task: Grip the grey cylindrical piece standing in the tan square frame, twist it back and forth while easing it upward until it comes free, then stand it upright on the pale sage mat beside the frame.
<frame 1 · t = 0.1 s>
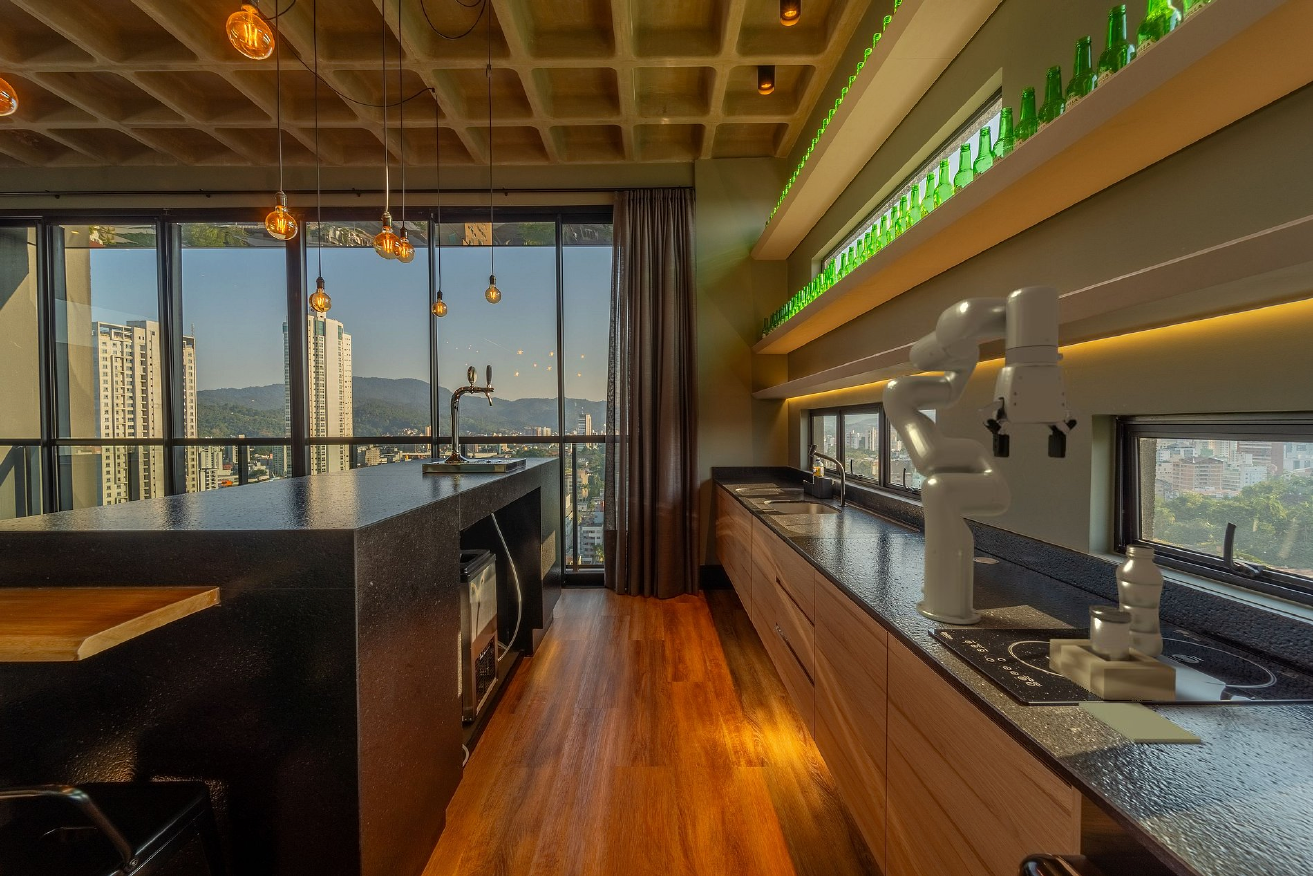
hand: (1028, 457, 92), 37 cm above the worktop, tool pointing down, fingers open, 9 cm apart
grey cylindrical piece: (1109, 647, 85), in the tan square frame
mat: (1136, 723, 74), on the worktop
plastic bottle: (1137, 655, 96), on the worktop
tan square frame: (1108, 683, 85), on the worktop
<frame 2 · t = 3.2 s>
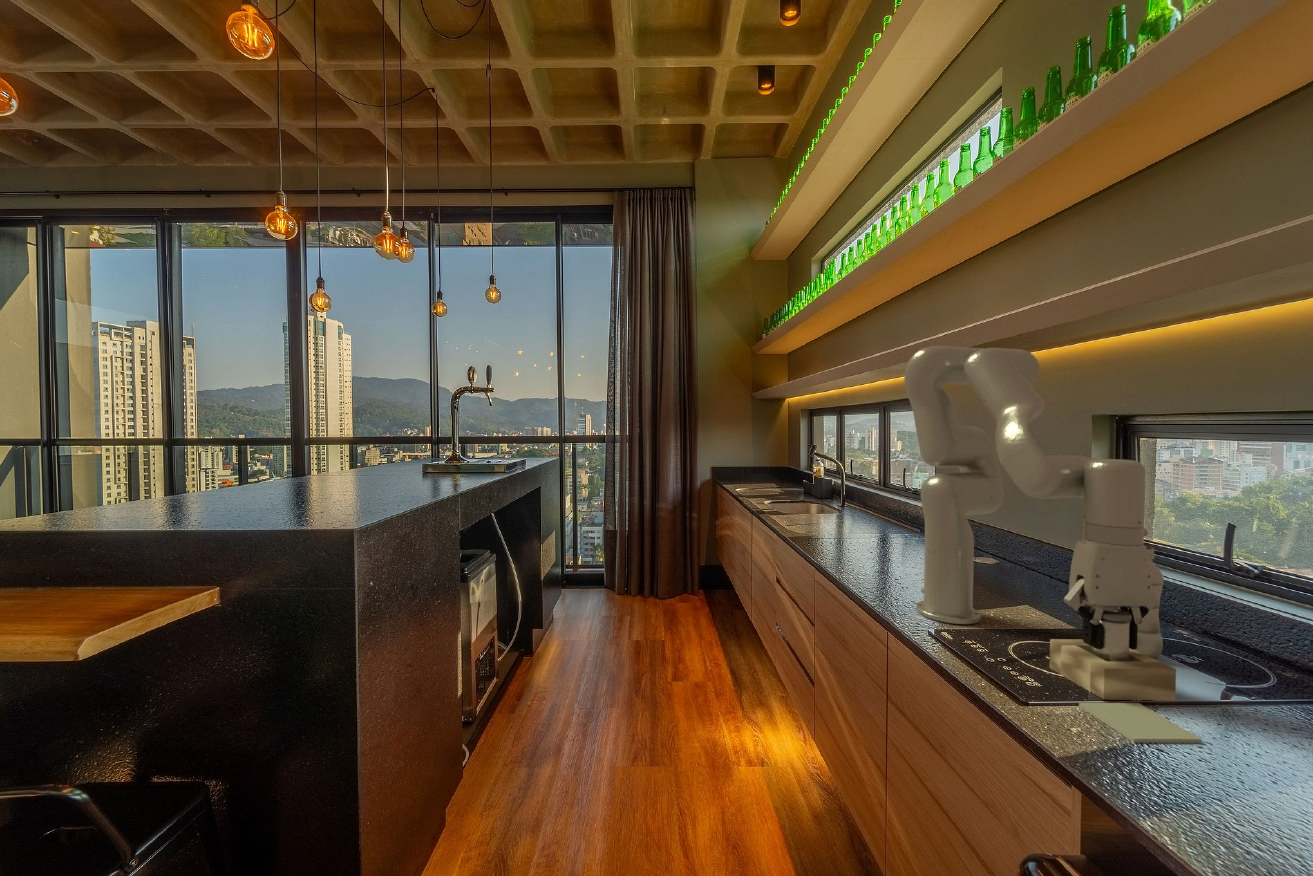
hand: (1109, 644, 85), 6 cm above the worktop, tool pointing down, fingers closed on grey cylindrical piece, 4 cm apart
grey cylindrical piece: (1109, 647, 85), in the tan square frame, touching gripper
everything else where it was.
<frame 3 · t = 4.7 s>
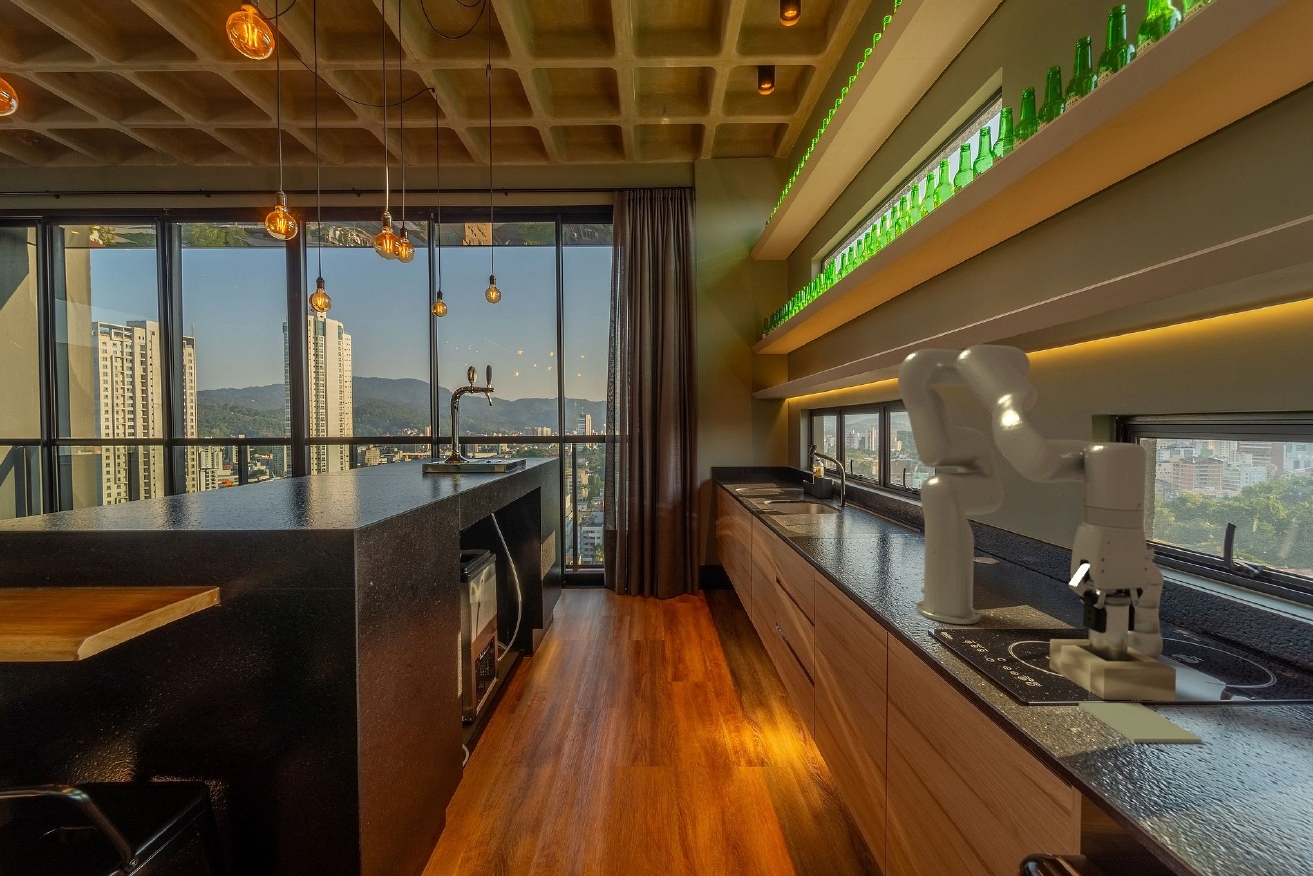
hand: (1108, 627, 85), 9 cm above the worktop, tool pointing down, fingers closed on grey cylindrical piece, 4 cm apart
grey cylindrical piece: (1108, 630, 85), point 9 cm above the worktop, touching gripper
everything else where it was.
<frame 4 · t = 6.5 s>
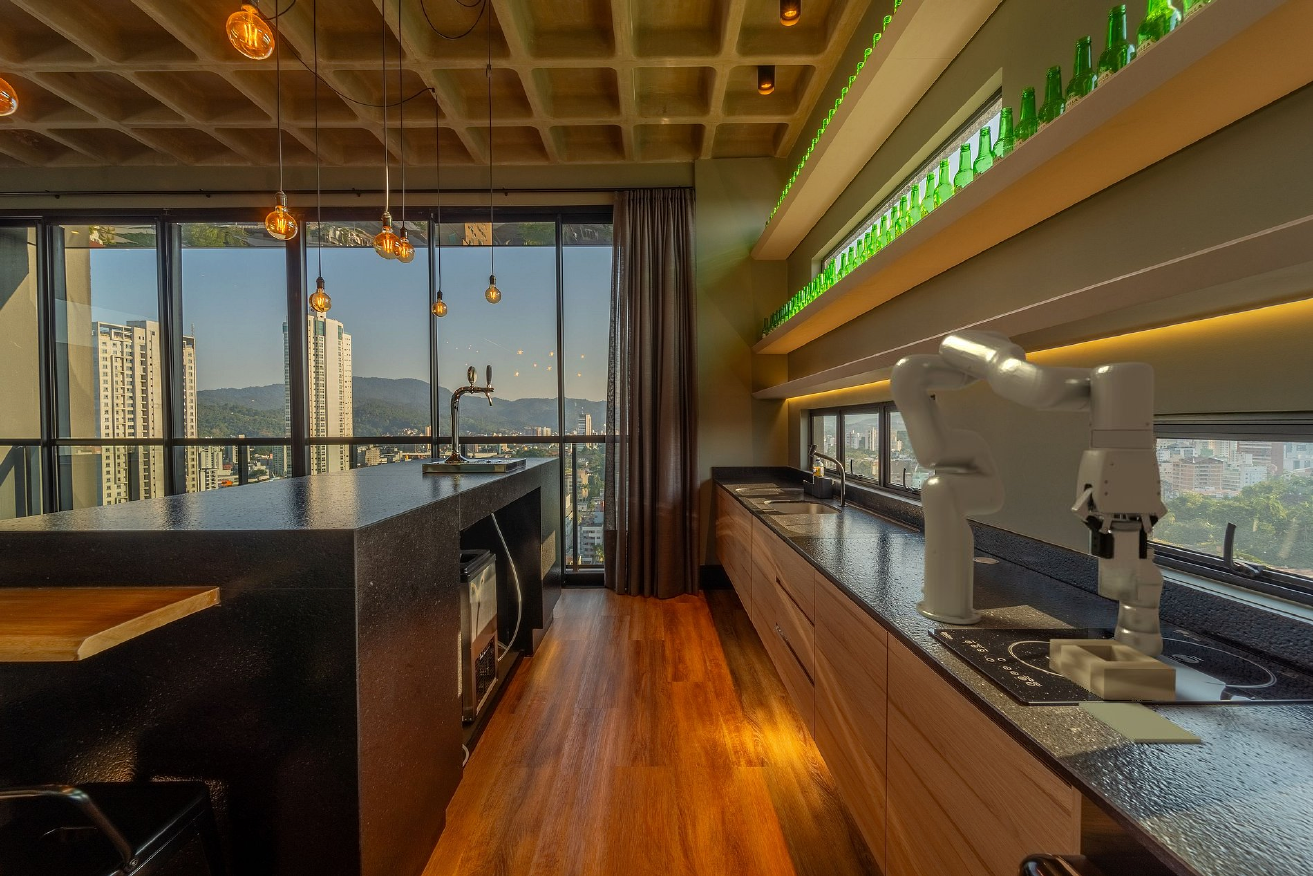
hand: (1118, 555, 82), 22 cm above the worktop, tool pointing down, fingers closed on grey cylindrical piece, 4 cm apart
grey cylindrical piece: (1118, 558, 82), point 21 cm above the worktop, touching gripper
everything else where it was.
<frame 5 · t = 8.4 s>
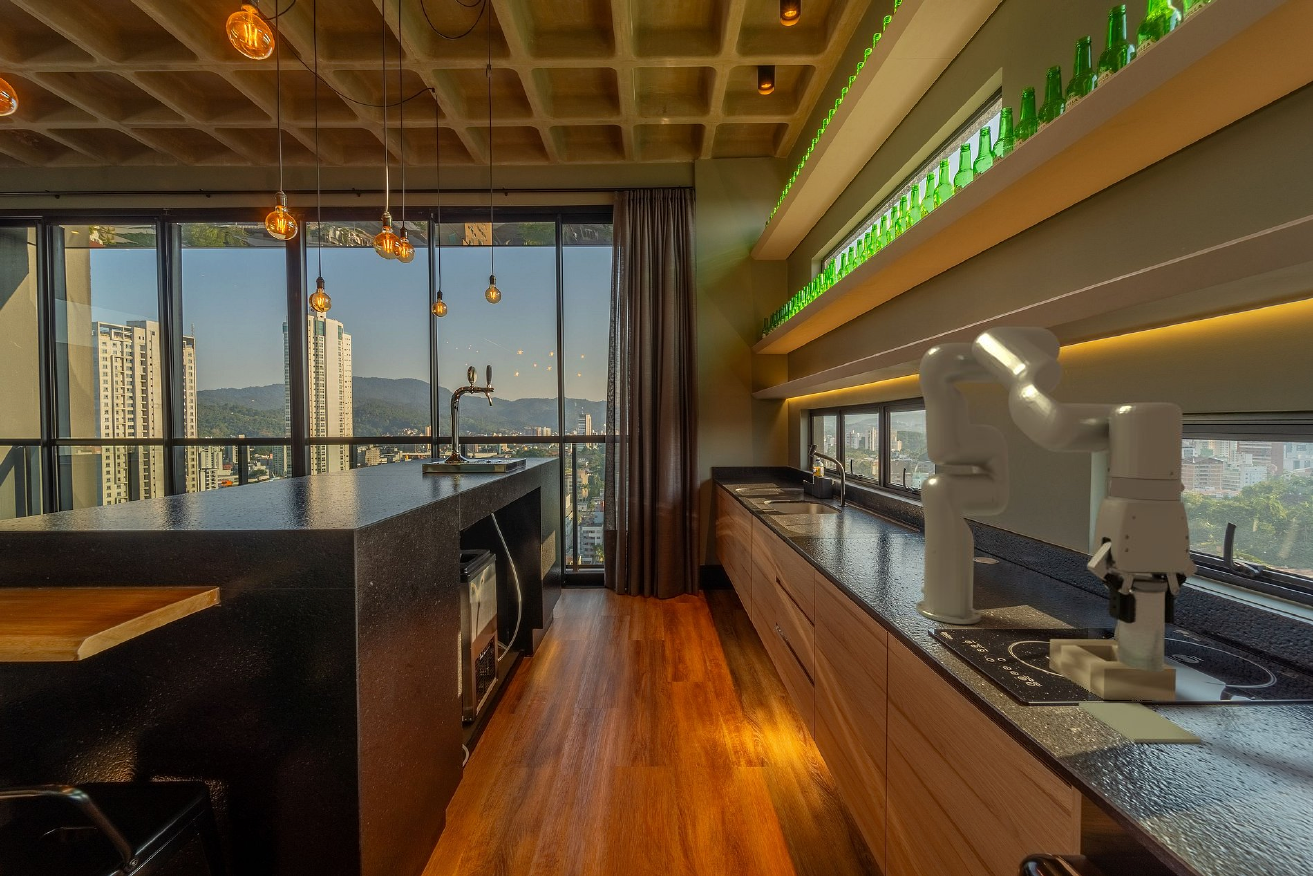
hand: (1140, 618, 73), 15 cm above the worktop, tool pointing down, fingers closed on grey cylindrical piece, 4 cm apart
grey cylindrical piece: (1140, 621, 73), point 15 cm above the worktop, touching gripper
everything else where it was.
when the fingers open (8 cm above the worktop, at t = 10.0 s): grey cylindrical piece drops 1 cm, resting on mat.
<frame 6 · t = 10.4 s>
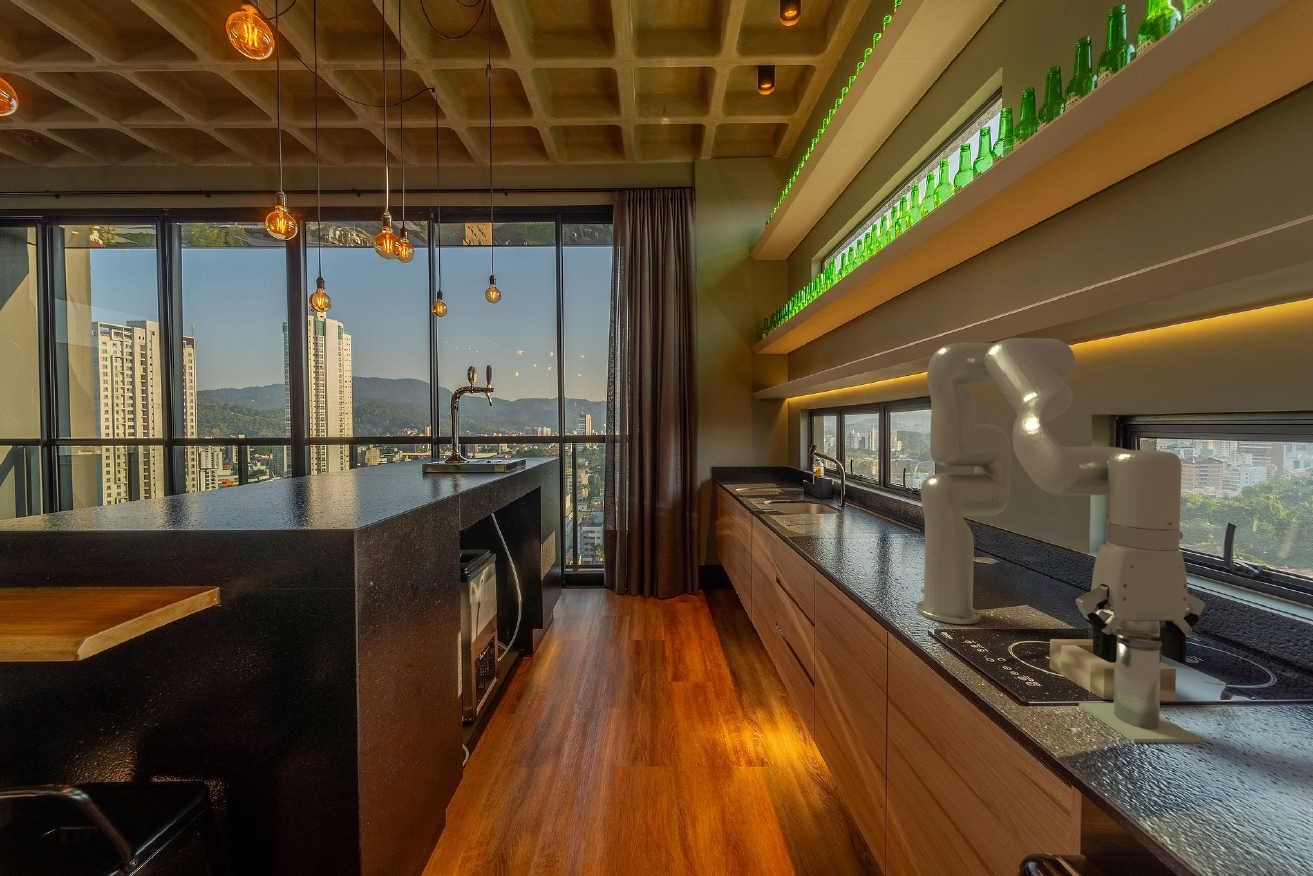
hand: (1138, 658, 74), 9 cm above the worktop, tool pointing down, fingers open, 9 cm apart
grey cylindrical piece: (1136, 677, 74), on the mat
everything else where it was.
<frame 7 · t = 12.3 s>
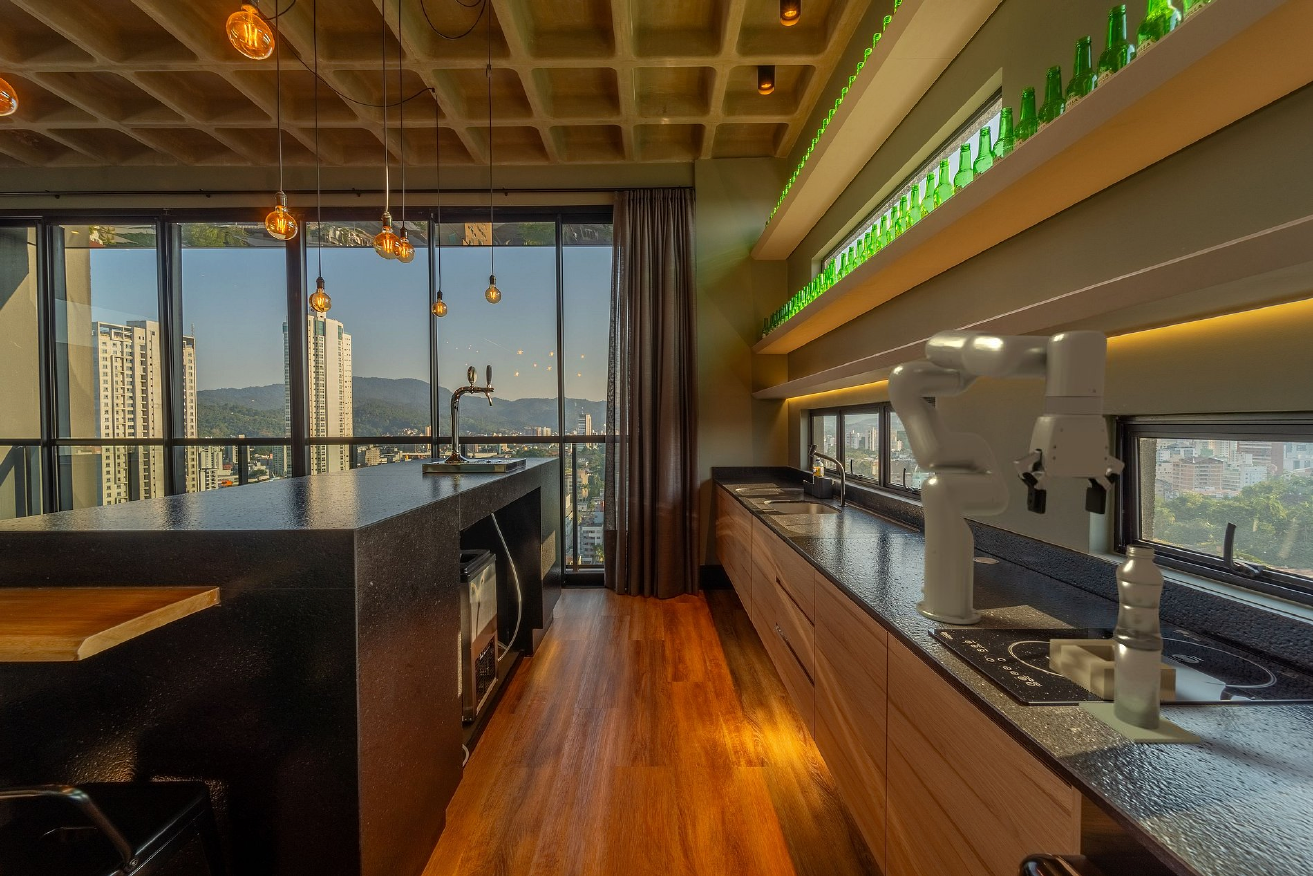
hand: (1065, 512, 86), 28 cm above the worktop, tool pointing down, fingers open, 9 cm apart
nothing on the worktop moved.
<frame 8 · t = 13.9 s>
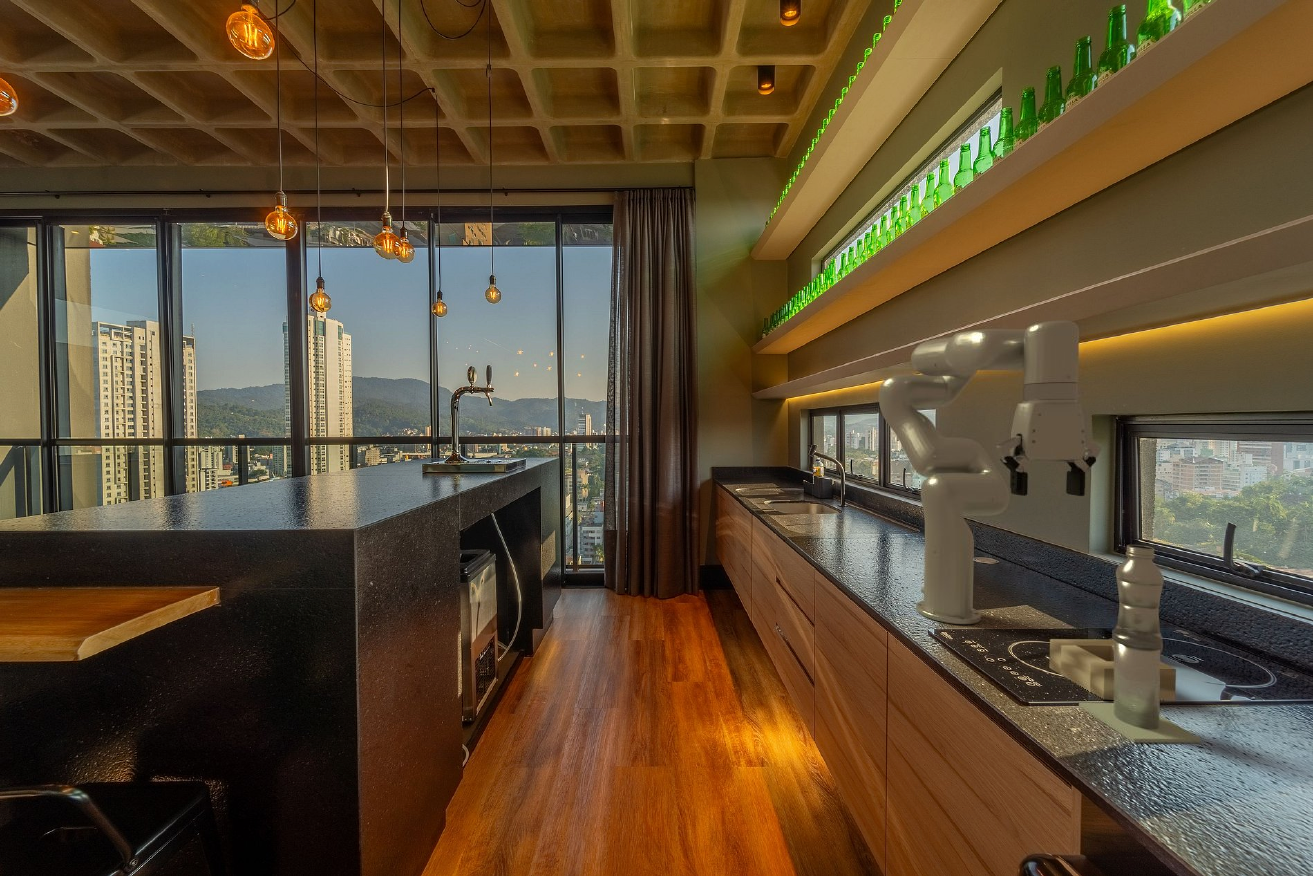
hand: (1047, 494, 90), 30 cm above the worktop, tool pointing down, fingers open, 9 cm apart
nothing on the worktop moved.
at the end: grey cylindrical piece 0.0 cm off-centre on the mat, point 6.5 cm above the mat's base; grey cylindrical piece tilted 1°; the gripper is holding nothing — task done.
